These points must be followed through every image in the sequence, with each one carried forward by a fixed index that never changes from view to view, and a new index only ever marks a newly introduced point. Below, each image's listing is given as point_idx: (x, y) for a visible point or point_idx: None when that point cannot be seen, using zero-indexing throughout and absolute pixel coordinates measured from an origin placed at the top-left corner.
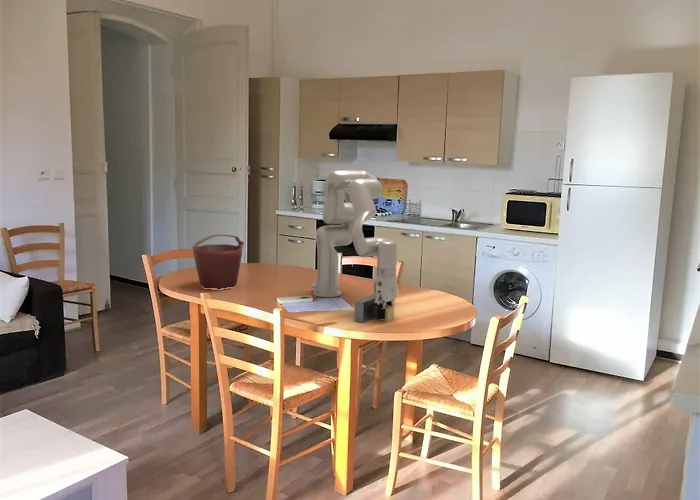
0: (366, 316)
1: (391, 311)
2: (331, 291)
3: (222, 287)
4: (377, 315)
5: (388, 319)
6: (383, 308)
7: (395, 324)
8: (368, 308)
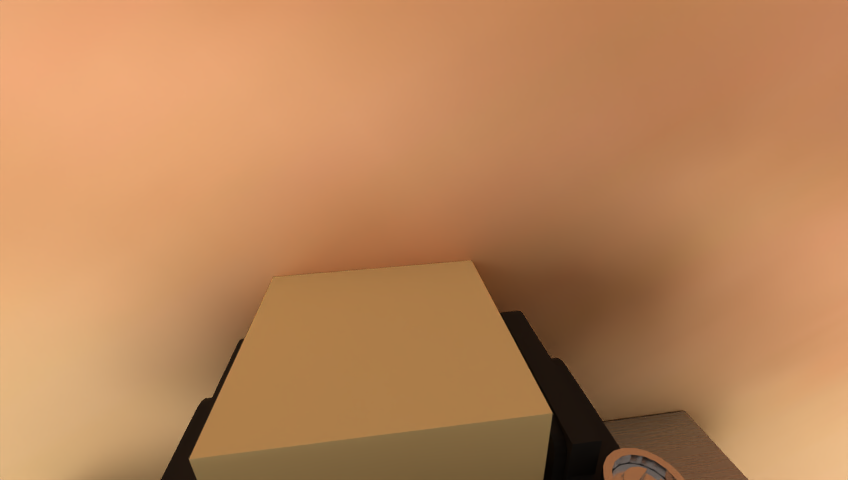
0: None
1: (352, 358)
2: None
3: None
4: None
5: (448, 273)
6: (633, 473)
7: (565, 63)
8: None
